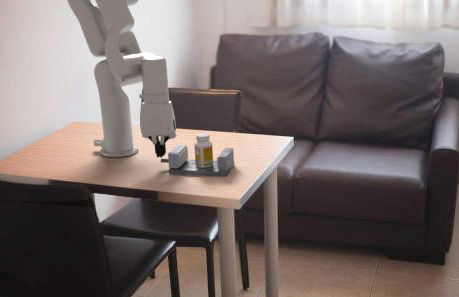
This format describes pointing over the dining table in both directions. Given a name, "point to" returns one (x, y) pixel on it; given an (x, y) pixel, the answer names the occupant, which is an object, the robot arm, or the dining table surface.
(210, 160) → the supplement bottle
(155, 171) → the dining table surface
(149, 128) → the robot arm
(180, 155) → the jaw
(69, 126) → the dining table surface
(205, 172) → the vise bed
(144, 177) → the dining table surface
